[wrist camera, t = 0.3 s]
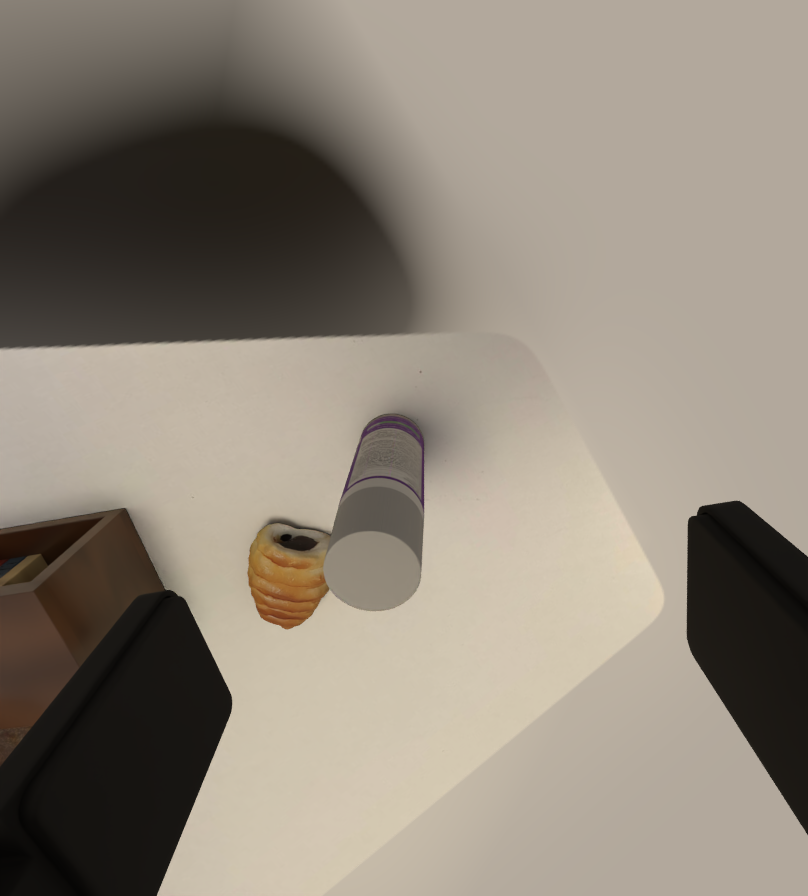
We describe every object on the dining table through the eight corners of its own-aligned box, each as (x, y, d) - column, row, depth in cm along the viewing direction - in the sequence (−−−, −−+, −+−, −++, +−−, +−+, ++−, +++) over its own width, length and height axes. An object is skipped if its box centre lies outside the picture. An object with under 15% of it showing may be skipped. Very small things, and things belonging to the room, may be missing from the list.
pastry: (322, 620, 43) (313, 654, 39) (246, 603, 42) (229, 636, 39) (342, 532, 39) (334, 561, 35) (259, 512, 39) (242, 540, 35)
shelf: (-30, 533, 40) (-163, 620, 31) (125, 507, 39) (32, 591, 30) (34, 634, 45) (-66, 737, 35) (177, 614, 43) (110, 717, 34)
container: (401, 483, 37) (388, 629, 23) (348, 452, 36) (302, 583, 22) (436, 435, 35) (444, 562, 22) (381, 401, 35) (353, 510, 21)
